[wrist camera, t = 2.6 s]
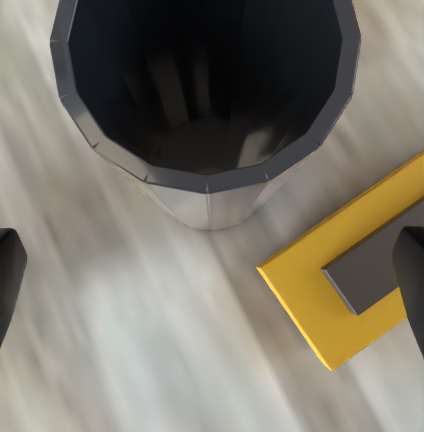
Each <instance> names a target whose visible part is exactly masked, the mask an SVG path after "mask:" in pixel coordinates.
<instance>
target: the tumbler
mask: <svg viewBox="0 0 424 432" xmlns="http://www.w3.org/2000/svg"><path fill="white" fill-rule="evenodd" d="M360 46H361V34H360V30H359V26H358V22H357V19H356V15H355V11H354V7H353V3H352V0H59V4H58V8H57V12H56V17H55V21H54V25H53V29H52V33H51V37H50V49H51V55H52V60H53V66H54V72H55V78H56V83H57V89H58V95H59V98H60V101H61V103H62V105H63V106H64V108H65V109H66V111H67V112H68V114H69V115H70V117H71V118H72V120H73V121H74V123H75V124H76V126H77V127H78V129H79V130H80V132H81V133H82V135H83V136H84V138H85V139H86V141H87V142H88V144H89V145H90V147H91V148H92V149H93V150H94V151H95V152H96V153H97V154H99V155H100V156H101V157H102V158H103V159H104V160H106V161H107V162H108V163H109V164H110V165H111V166H112V167H114V168H115V169H116V170H117V171H118V172H119V173H121V174H122V175H123V176H124V177H125V178H126V179H127V180H129V181H130V182H131V183H132V184H133V185H134V186H136V187H137V188H138V189H139V190H140V191H141V192H142V193H144V194H145V195H146V196H147V197H148V198H149V199H150V200H152V201H153V202H154V203H155V204H156V205H157V206H159V207H160V208H161V209H162V210H163V211H164V212H165V213H167V214H168V215H170V216H171V217H173V218H174V219H176V220H177V221H179V222H180V223H182V224H183V225H185V226H187V227H191V228H195V229H199V230H207V231H214V230H221V229H226V228H229V227H233V226H236V225H237V224H239V223H240V222H242V221H244V220H245V219H246V218H248V217H249V216H250V215H252V214H253V213H255V212H256V211H257V210H258V209H259V208H260V207H261V206H262V205H263V204H264V203H265V202H266V201H267V200H268V199H269V198H270V197H271V196H272V195H273V194H274V193H275V192H276V191H277V190H278V189H279V188H280V187H281V186H282V185H283V184H284V182H285V181H286V180H287V179H288V178H289V177H290V176H291V175H292V174H293V173H294V172H295V171H296V170H297V169H298V168H299V167H300V166H301V165H302V164H303V163H304V162H305V161H306V160H307V159H308V158H309V157H310V156H311V155H312V154H313V153H314V152H315V151H316V150H317V149H318V148H319V147H320V146H321V145H322V144H323V142H324V140H325V139H326V137H327V136H328V134H329V133H330V131H331V129H332V128H333V126H334V125H335V123H336V122H337V120H338V119H339V117H340V115H341V114H342V112H343V111H344V109H345V108H346V106H347V104H348V103H349V101H350V100H351V98H352V95H353V91H354V84H355V78H356V71H357V65H358V58H359V52H360Z"/></svg>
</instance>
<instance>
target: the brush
mask: <svg viewBox="0 0 424 432" xmlns="http://www.w3.org/2000/svg"><path fill="white" fill-rule="evenodd" d="M405 225H422V226H424V150H423V151H422V152H420V153H419V154H417V155H416V156H415V157H413V158H412V159H410V160H409V161H407V162H406V163H404V164H403V165H402V166H400V167H399V168H397V169H396V170H394V171H393V172H392V173H390V174H389V175H387V176H386V177H384V178H383V179H381V180H380V181H379V182H377V183H376V184H374V185H373V186H371V187H370V188H369V189H367V190H366V191H364V192H363V193H361V194H360V195H358V196H357V197H356V198H354V199H353V200H351V201H350V202H348V203H347V204H346V205H344V206H343V207H341V208H340V209H338V210H337V211H335V212H334V213H333V214H331V215H330V216H328V217H327V218H325V219H324V220H323V221H321V222H320V223H318V224H317V225H315V226H314V227H312V228H311V229H310V230H308V231H307V232H305V233H304V234H302V235H301V236H299V237H298V238H297V239H295V240H294V241H292V242H291V243H289V244H288V245H287V246H285V247H284V248H282V249H281V250H279V251H278V252H276V253H275V254H274V255H272V256H271V257H269V258H268V259H266V260H265V261H264V262H262V263H261V264H259V265H258V266H257V269H258V271H259V272H260V274H261V275H262V277H263V278H264V279H265V281H266V282H267V284H268V285H269V287H270V288H271V290H272V291H273V292H274V294H275V295H276V297H277V298H278V300H279V301H280V303H281V304H282V306H283V307H284V308H285V310H286V311H287V313H288V314H289V316H290V317H291V319H292V320H293V321H294V323H295V324H296V326H297V327H298V329H299V330H300V332H301V333H302V334H303V336H304V337H305V339H306V340H307V342H308V343H309V345H310V346H311V348H312V349H313V350H314V352H315V353H316V355H317V356H318V358H319V359H320V361H321V362H322V363H323V364H324V365H325V366H326V367H327V368H328V369H329V370H330V371H333V370H334V369H336V368H337V367H339V366H340V365H341V364H343V363H344V362H346V361H347V360H348V359H350V358H351V357H352V356H354V355H355V354H357V353H358V352H359V351H361V350H362V349H364V348H365V347H366V346H368V345H369V344H370V343H372V342H373V341H375V340H376V339H377V338H379V337H380V336H381V335H383V334H384V333H386V332H387V331H388V330H390V329H391V328H393V327H394V326H395V325H397V324H398V323H399V322H401V321H402V320H404V319H405V318H406V317H407V314H406V311H405V308H404V304H403V300H402V296H401V293H400V289H399V285H398V282H397V278H396V274H395V271H394V267H393V263H392V259H391V253H392V249H393V246H394V244H395V242H396V239H397V237H398V234H399V232H400V230H401V228H402V227H403V226H405Z"/></svg>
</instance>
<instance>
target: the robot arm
mask: <svg viewBox="0 0 424 432" xmlns="http://www.w3.org/2000/svg"><path fill="white" fill-rule="evenodd" d="M391 259H392V263H393V267H394V271H395V274H396V278H397V282H398V285H399V289H400V293H401V296H402V300H403V304H404V308H405V311H406V314H407V317H408V320H409V323H410V325H411V328H412V331H413V333H414V336H415V338H416V341H417V343H418V346H419V348H420V351H421V353H422V356H423V358H424V226H422V225H405V226H403V227H402V228H401V230H400V232H399V234H398V237H397V239H396V242H395V244H394V246H393V249H392V253H391ZM26 264H27V253H26V251H25V249H24V246H23V244H22V242H21V240H20V238H19V235H18V233H17V231H16V230H15V229H13V228H0V348H1V345H2V343H3V340H4V338H5V335H6V332H7V330H8V327H9V324H10V322H11V319H12V316H13V312H14V309H15V305H16V301H17V297H18V294H19V290H20V286H21V283H22V279H23V275H24V271H25V268H26Z"/></svg>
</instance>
